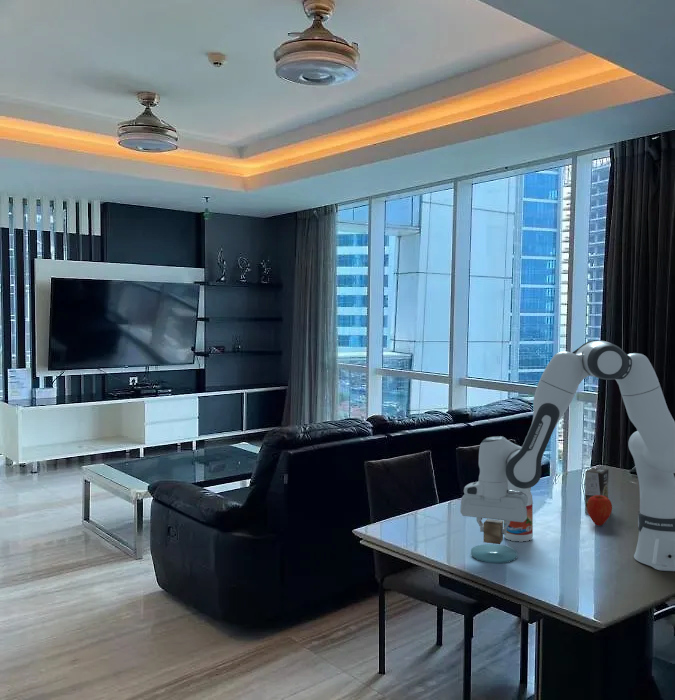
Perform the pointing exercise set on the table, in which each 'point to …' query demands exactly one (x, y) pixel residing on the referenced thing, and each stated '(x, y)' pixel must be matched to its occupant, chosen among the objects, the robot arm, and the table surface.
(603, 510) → the strawberry
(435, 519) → the table surface
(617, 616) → the table surface
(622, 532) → the table surface
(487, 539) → the walnut block
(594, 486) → the coffee box
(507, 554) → the dish
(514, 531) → the fruit juice
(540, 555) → the table surface
